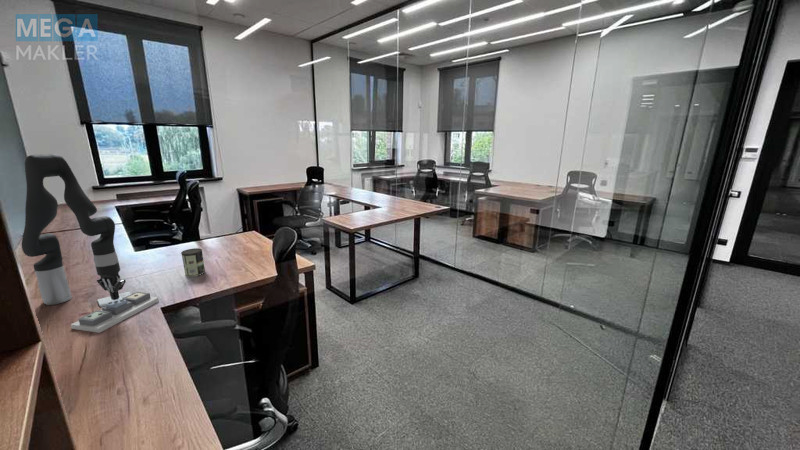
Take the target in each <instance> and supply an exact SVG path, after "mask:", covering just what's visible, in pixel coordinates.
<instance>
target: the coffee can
mask: <svg viewBox="0 0 800 450" xmlns="http://www.w3.org/2000/svg"><path fill="white" fill-rule="evenodd" d="M180 255H181V257H182V264H183V268H184V275H185V277H187V278H194V277H193V276H195V277H199V276H198V275H200V276H202V275H204V274H205V273H206V268H205V263H204V262H205V260H204V256H203V249H202V248H200V247H199V248H195V247H194V248H188V249H185V250H182V251H181V253H180ZM204 272H205V273H204ZM203 273H204V274H203ZM201 274H202V275H201Z"/></svg>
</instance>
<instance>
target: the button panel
mask: <svg viewBox="0 0 800 450" xmlns="http://www.w3.org/2000/svg"><path fill="white" fill-rule="evenodd" d="M135 293H142V294H145V295H143V296H141V297H139V298H137V299H130V298H127V297H129V296H131V295H133V294H135ZM131 295H129V296H127V297H124V298H122V299H123V300H127V303H126V304H124V305H122V306H120V307H118V308H116V309H114V308H106V306H103V307H101V310H100V309H99V310H98V309H96V310H94V311H92V312H90V313H87V314H86V315H84V316H81V317H79V318H78V320H77V321H75V322H73V323H71V324H70V327H71V329H73V330H77V331H78V330H79V331H84V332H91V333H97V334H98V333H102V332H104V331H106V330H108V329H109V328H111V327H114V326H115V325H117V324H118V323H121V322H122V321H125V320H127V319H128V318H130V317H132V316H134V315H136V314H138V313H140V312H142V311H143V310H145V309H147V308H149V307H151V306H153V305H154V304H155V305H156V303H159V302H160V300H159V297H156V296H151V294H150V292H145V291H143V292H142V291H135V292H133V293H131ZM95 312H103V313H106V314H104V315H102V316H100V317H98V318H96V319H93V320H92V319H85V318H84V317H86V316H88V315H91V314H93V313H95Z"/></svg>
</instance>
